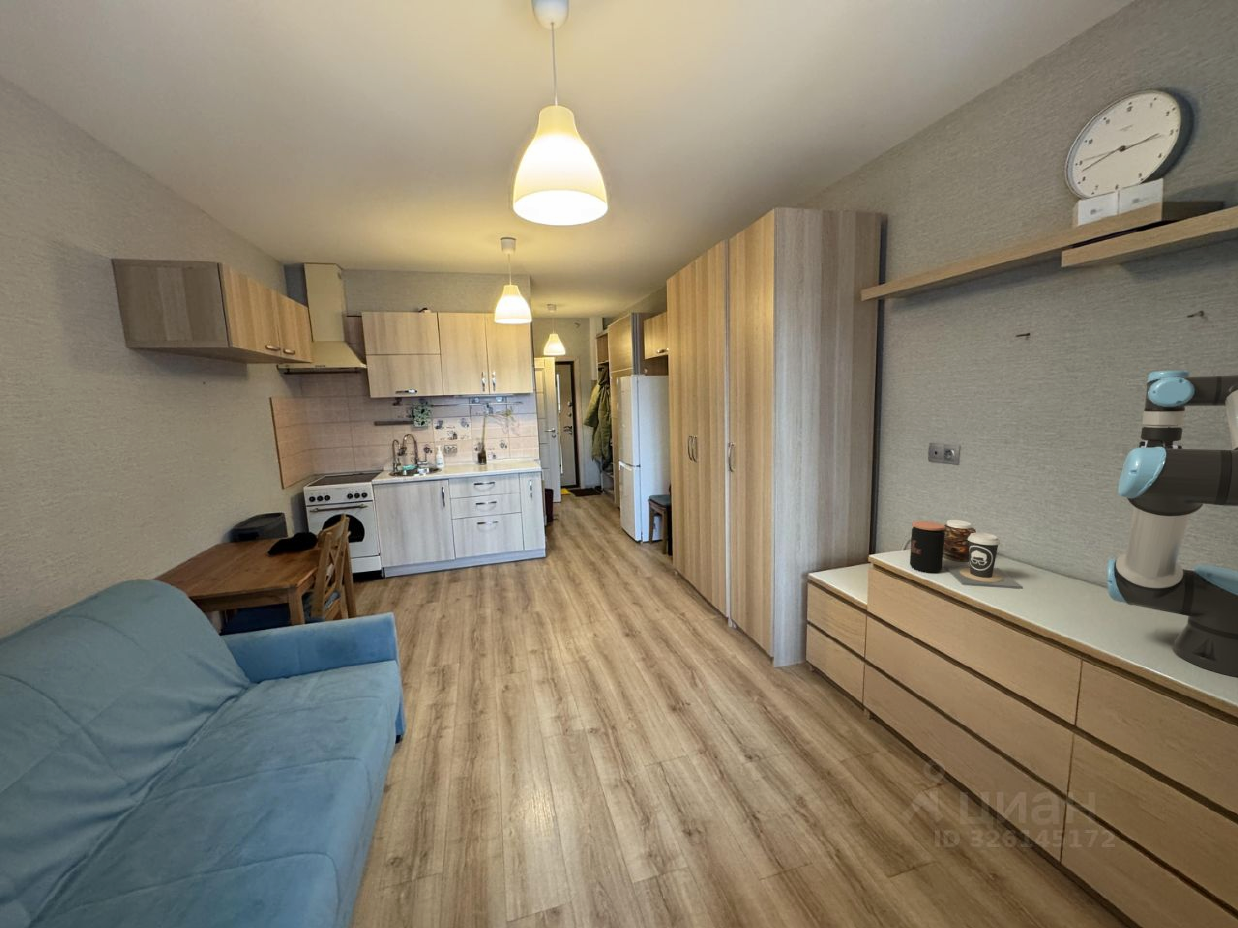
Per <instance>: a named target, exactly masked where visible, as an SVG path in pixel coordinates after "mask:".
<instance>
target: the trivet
mask: <svg viewBox="0 0 1238 928" xmlns="http://www.w3.org/2000/svg"><path fill="white" fill-rule="evenodd" d="M943 568H944V569H945V570H946V571H947V572H949V574H950V575H952V577H954V578H955V579H956V581H958V582H959V583H960V584H961V585H963V586H975V587H991V588H1003V589H1007V588H1008V589H1018V590H1020V589H1023V590H1024V586H1023V585H1022V584H1020V583H1019V582H1017V581H1016V580H1014V579H1013V578H1012V577H1010V575H1008V574H1007V573H1005V571H1002V570H1001V569H1000V568H998V567H994V570H993V575H992V577H991V578H982V577H977V576H974V575H972V574H971V573H970V566H966V565H964V566H963V565H949V564H947V565H946V564H944V565H943Z"/></svg>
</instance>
